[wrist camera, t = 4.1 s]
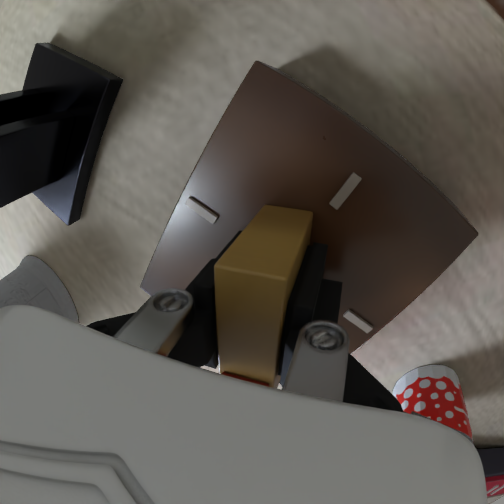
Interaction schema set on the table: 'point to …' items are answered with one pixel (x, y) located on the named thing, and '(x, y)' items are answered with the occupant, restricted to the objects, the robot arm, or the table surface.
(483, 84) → the table surface
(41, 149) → the handle bracket
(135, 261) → the table surface
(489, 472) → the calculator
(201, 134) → the table surface
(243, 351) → the thumb turn
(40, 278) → the glass holder
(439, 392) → the beverage cup
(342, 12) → the table surface
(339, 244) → the lock plate
